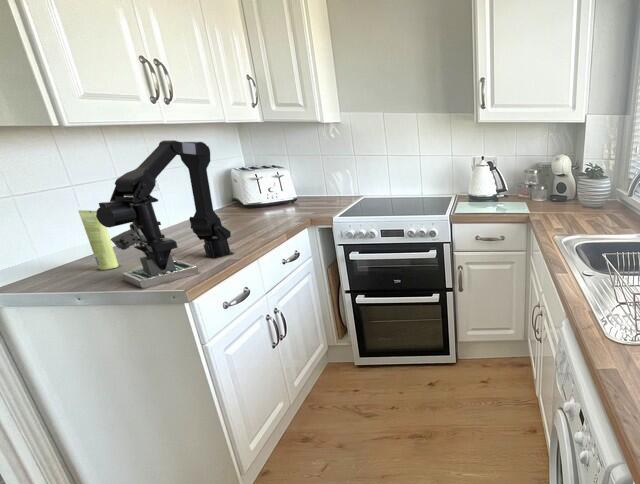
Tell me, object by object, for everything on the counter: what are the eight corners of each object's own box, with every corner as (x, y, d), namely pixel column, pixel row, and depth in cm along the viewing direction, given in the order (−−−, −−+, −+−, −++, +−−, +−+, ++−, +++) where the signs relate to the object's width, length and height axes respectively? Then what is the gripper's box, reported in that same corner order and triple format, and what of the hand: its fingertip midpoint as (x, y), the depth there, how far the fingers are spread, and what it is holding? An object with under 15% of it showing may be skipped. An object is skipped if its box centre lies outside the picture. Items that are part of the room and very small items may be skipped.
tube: (121, 264, 142) (102, 207, 136) (121, 267, 139) (100, 210, 132) (99, 267, 139) (78, 210, 132) (98, 271, 135) (76, 212, 129)
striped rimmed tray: (180, 266, 139) (177, 259, 138) (198, 273, 133) (196, 266, 132) (124, 280, 127) (121, 273, 126) (142, 288, 121) (139, 280, 120)
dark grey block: (169, 267, 133) (164, 252, 132) (176, 269, 131) (171, 254, 129) (144, 273, 128) (139, 257, 126) (151, 275, 126) (146, 260, 124)
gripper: (96, 221, 122) (114, 270, 127) (122, 229, 113) (140, 282, 118) (143, 214, 131) (158, 260, 136) (170, 220, 122) (185, 270, 127)
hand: (159, 268), depth 129 cm, fingers closed on dark grey block, 5 cm apart
